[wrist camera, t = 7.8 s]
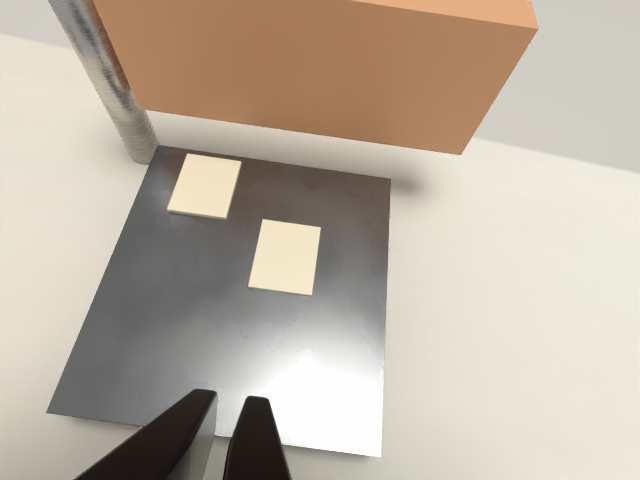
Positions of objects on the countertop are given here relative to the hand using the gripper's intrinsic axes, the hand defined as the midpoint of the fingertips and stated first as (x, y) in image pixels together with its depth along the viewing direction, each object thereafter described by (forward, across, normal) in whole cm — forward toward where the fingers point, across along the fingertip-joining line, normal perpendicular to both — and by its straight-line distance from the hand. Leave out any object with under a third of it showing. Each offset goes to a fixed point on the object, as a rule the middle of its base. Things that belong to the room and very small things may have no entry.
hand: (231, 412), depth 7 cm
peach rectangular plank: (+13, 0, -5) cm, 14 cm away
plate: (+11, +2, +2) cm, 11 cm away
